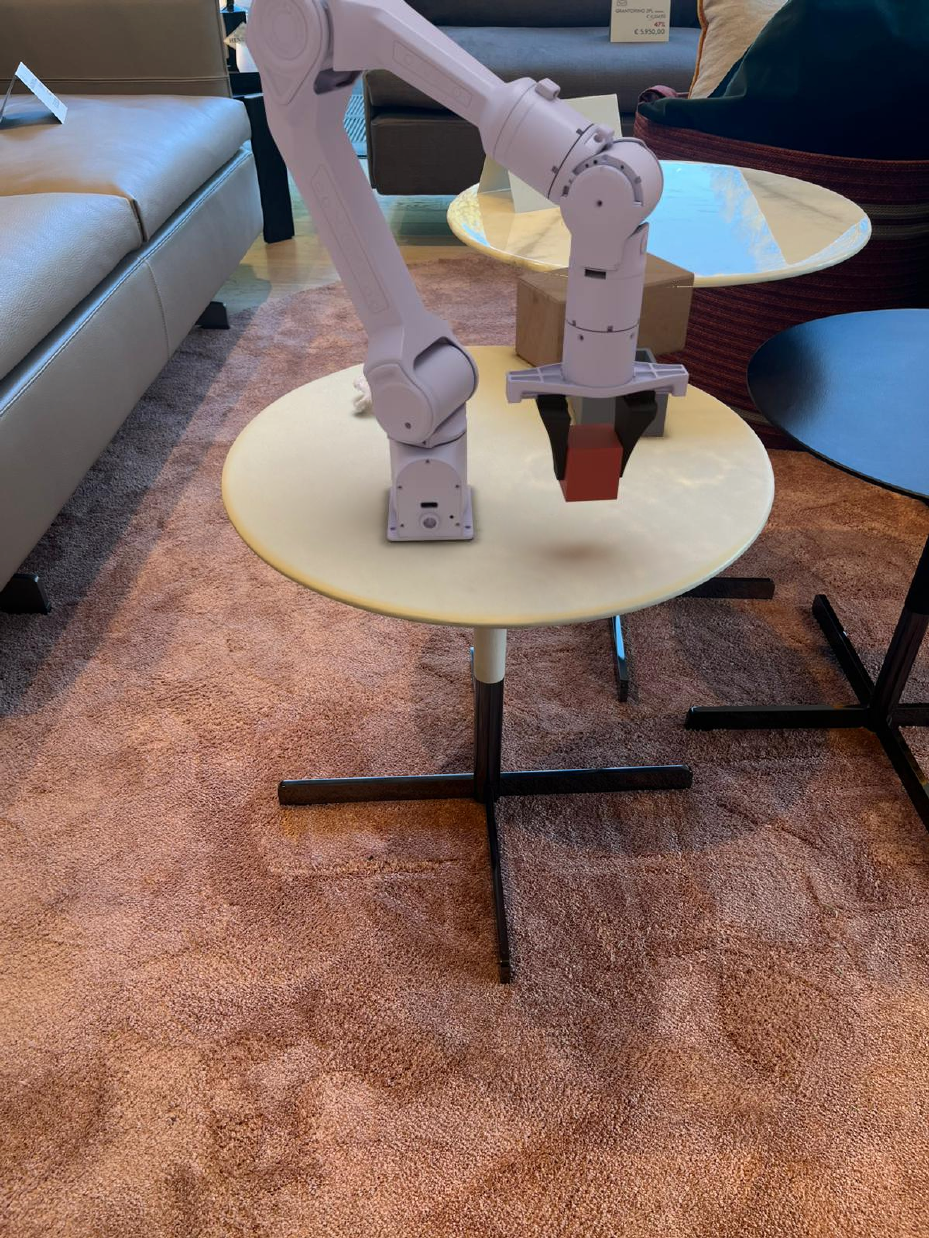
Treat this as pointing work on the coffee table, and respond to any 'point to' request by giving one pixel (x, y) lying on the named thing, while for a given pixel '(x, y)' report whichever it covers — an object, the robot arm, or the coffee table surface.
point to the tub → (604, 408)
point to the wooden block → (547, 308)
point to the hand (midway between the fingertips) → (588, 473)
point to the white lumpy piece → (361, 385)
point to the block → (592, 463)
